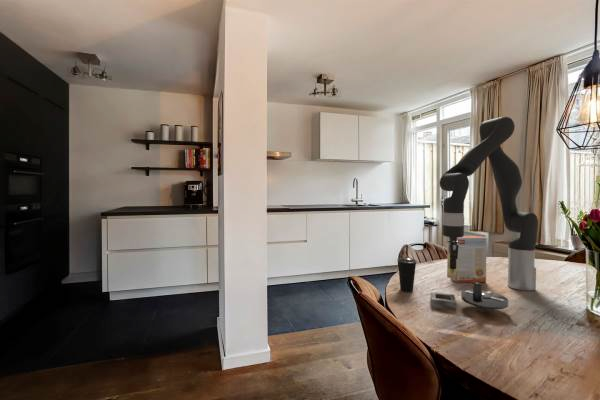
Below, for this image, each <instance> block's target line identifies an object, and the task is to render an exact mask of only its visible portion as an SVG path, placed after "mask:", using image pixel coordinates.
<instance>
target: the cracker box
mask: <svg viewBox="0 0 600 400" xmlns="http://www.w3.org/2000/svg"><path fill="white" fill-rule="evenodd" d="M457 241H458V242H459V247H458V265H457V278H456V279H452V278H450V280H452V281H453V282H456V283H473V282H479V283H487V237H484V236H482V235H479V236H478V235H464V236H463V237H458V238H457Z"/></svg>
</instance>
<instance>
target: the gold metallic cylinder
mask: <svg viewBox="0 0 600 400" xmlns="http://www.w3.org/2000/svg"><path fill="white" fill-rule="evenodd" d="M446 256H447V257H446V258H447V259H446V260H447V263H446V265H447V266H446V269H447V270H446V277H447V278H449V279H451V278H452V279H456V278H457V265H458V258H457V260H456V269H450V258H449V257H450V253H448V250H447V254H446ZM452 256H455V254H452ZM452 279H451V280H452Z"/></svg>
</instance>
